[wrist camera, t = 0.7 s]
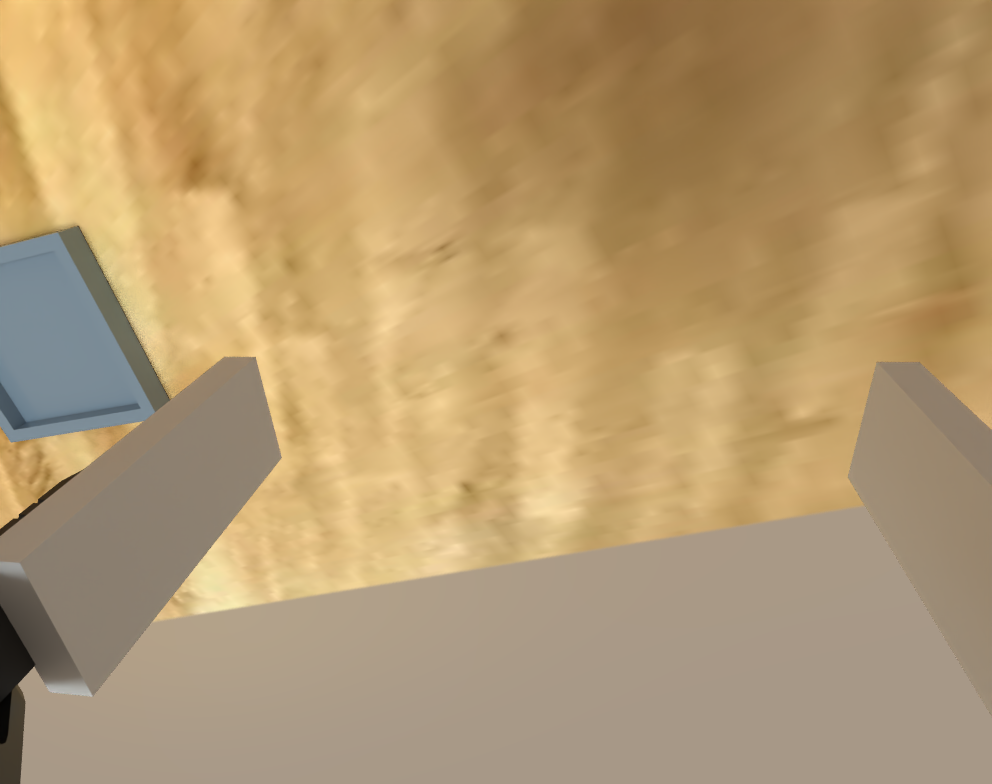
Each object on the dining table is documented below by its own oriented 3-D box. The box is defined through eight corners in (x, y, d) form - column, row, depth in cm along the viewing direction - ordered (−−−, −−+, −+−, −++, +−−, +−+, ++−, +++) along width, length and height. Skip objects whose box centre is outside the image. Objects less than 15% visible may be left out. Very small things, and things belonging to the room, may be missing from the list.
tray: (-78, 266, 45) (-103, 273, 43) (78, 226, 42) (57, 232, 40) (29, 430, 51) (11, 442, 49) (173, 406, 47) (158, 418, 46)
